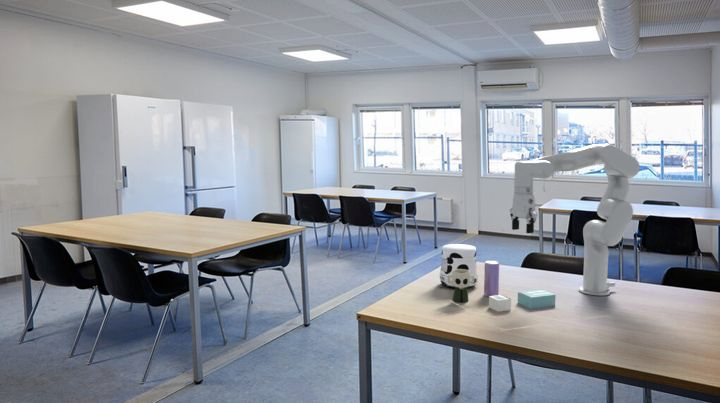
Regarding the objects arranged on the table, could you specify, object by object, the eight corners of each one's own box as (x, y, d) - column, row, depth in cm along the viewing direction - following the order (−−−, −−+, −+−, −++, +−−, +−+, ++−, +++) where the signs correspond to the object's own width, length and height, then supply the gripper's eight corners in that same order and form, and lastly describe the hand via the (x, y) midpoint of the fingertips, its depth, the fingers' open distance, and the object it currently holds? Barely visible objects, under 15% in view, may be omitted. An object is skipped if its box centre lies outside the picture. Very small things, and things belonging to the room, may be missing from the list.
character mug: (448, 304, 219) (448, 272, 217) (446, 298, 226) (446, 268, 225) (475, 304, 218) (475, 273, 217) (472, 299, 225) (473, 268, 224)
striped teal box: (542, 300, 222) (542, 289, 222) (555, 305, 215) (555, 294, 214) (517, 303, 218) (517, 292, 218) (530, 308, 211) (530, 297, 210)
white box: (501, 305, 215) (502, 294, 214) (510, 310, 209) (511, 298, 209) (488, 307, 213) (489, 295, 212) (497, 311, 207) (497, 300, 207)
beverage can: (498, 298, 226) (499, 263, 224) (484, 298, 227) (484, 263, 225) (498, 294, 232) (498, 260, 230) (483, 294, 233) (484, 260, 231)
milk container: (483, 284, 249) (484, 246, 247) (469, 293, 235) (470, 252, 233) (448, 279, 258) (448, 242, 256) (433, 287, 244) (433, 248, 242)
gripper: (544, 192, 217) (543, 233, 219) (518, 188, 234) (517, 227, 236) (529, 193, 215) (528, 235, 217) (503, 189, 231) (502, 228, 233)
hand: (522, 231), depth 226 cm, fingers open, 9 cm apart
